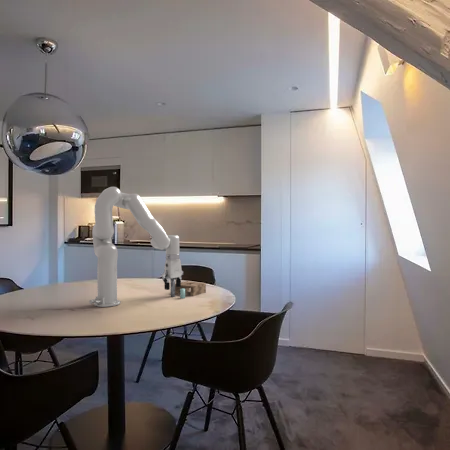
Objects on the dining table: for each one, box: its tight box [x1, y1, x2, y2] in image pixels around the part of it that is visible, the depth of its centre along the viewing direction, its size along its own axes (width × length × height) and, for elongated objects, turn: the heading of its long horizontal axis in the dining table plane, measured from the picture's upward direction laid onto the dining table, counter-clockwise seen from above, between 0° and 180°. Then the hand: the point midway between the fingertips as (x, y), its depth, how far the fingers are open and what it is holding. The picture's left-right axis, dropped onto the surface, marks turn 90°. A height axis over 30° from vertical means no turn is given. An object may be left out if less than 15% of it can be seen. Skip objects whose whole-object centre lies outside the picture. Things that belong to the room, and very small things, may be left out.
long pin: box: [169, 278, 176, 298], centre depth 201 cm, size 3×3×12 cm
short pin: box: [179, 289, 186, 300], centre depth 197 cm, size 3×3×5 cm
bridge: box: [175, 280, 207, 297], centre depth 211 cm, size 12×14×6 cm
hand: (172, 288), depth 201 cm, fingers open, 9 cm apart
